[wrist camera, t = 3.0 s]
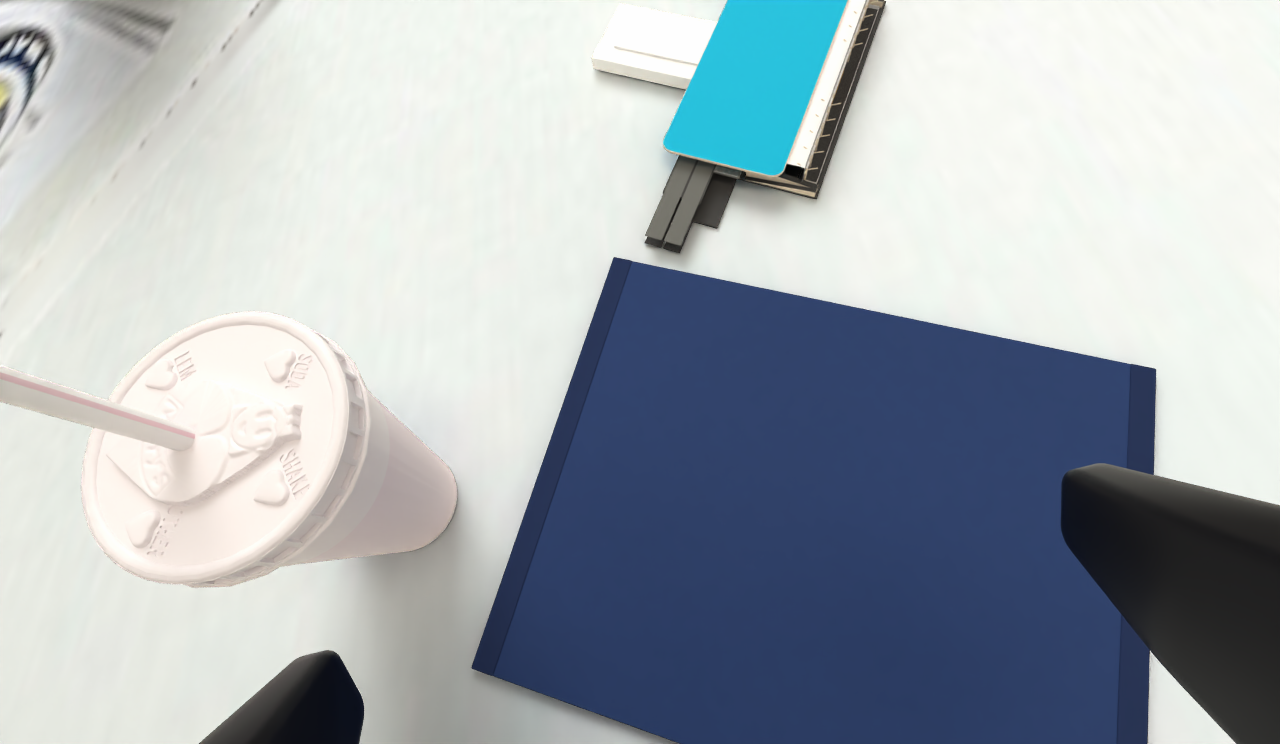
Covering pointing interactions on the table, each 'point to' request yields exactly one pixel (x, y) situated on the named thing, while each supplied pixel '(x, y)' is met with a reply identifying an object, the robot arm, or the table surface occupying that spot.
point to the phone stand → (744, 95)
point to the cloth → (821, 528)
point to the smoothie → (245, 456)
